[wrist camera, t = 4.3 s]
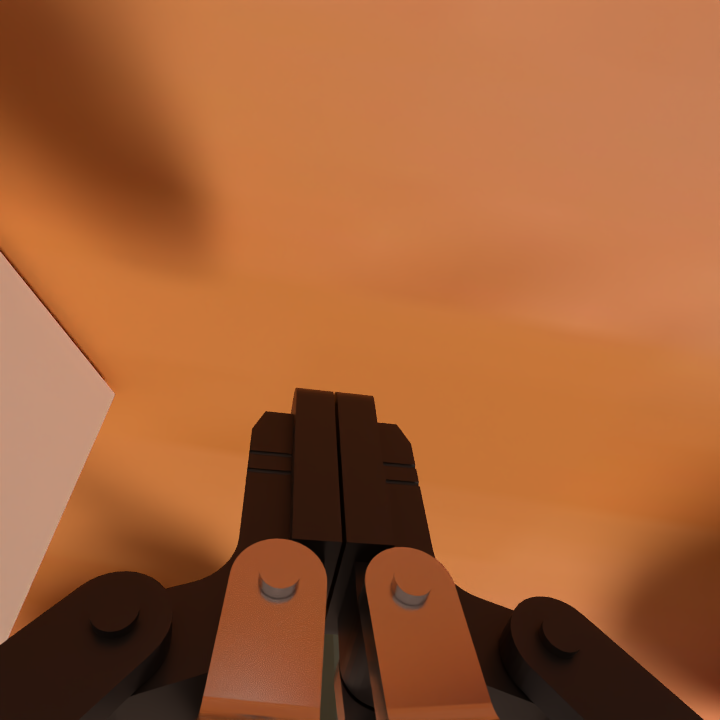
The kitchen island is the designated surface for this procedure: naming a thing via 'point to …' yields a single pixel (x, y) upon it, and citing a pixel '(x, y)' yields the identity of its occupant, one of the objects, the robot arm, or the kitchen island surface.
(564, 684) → the robot arm
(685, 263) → the kitchen island surface
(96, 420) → the cream flat slab
